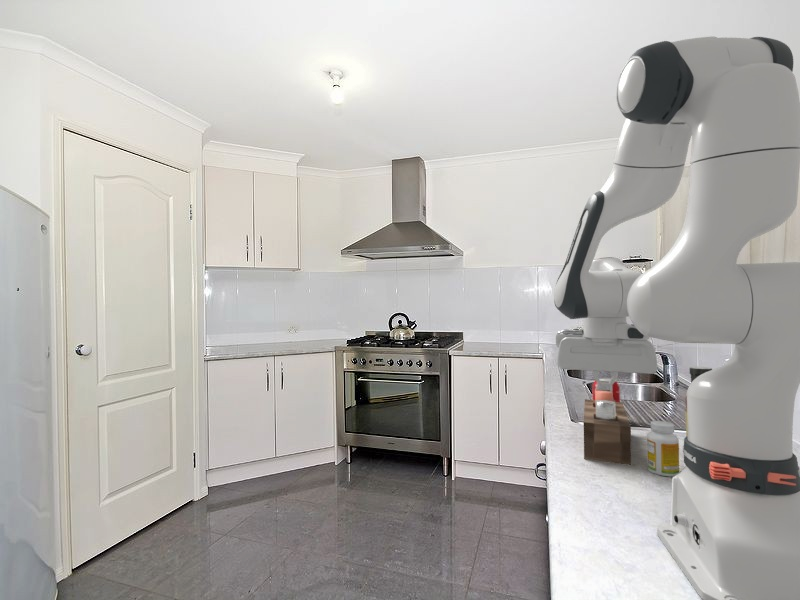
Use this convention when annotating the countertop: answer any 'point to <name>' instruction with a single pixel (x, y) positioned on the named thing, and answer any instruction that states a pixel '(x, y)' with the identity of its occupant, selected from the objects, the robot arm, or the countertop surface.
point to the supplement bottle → (663, 449)
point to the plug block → (607, 436)
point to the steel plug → (605, 410)
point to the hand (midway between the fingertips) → (605, 390)
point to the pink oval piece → (603, 396)
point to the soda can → (614, 387)
